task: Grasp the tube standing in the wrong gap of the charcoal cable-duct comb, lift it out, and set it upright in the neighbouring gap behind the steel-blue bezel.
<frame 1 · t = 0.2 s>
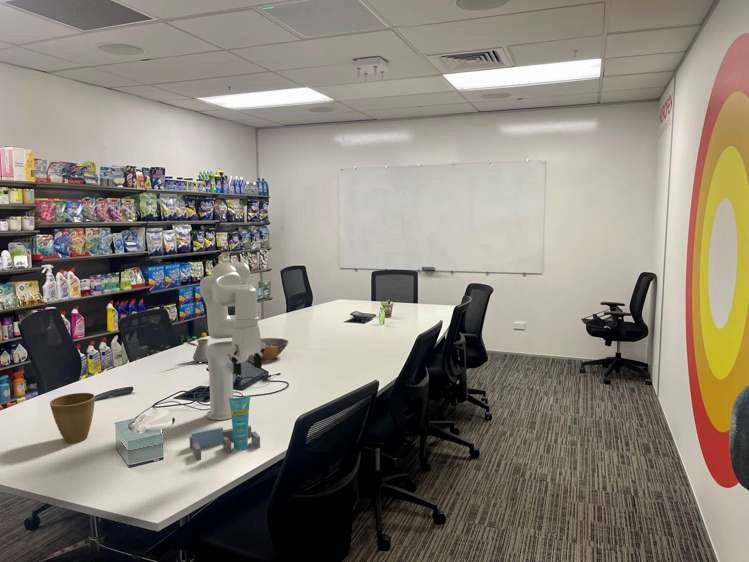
hand: (247, 370, 191), 30 cm above the table, tool pointing down, fingers open, 9 cm apart
duct comb: (227, 450, 196), on the table
plant pot: (75, 440, 206), on the table
coffee pot: (198, 364, 315), on the table
bowl: (267, 358, 328), on the table
tube: (241, 448, 199), on the table
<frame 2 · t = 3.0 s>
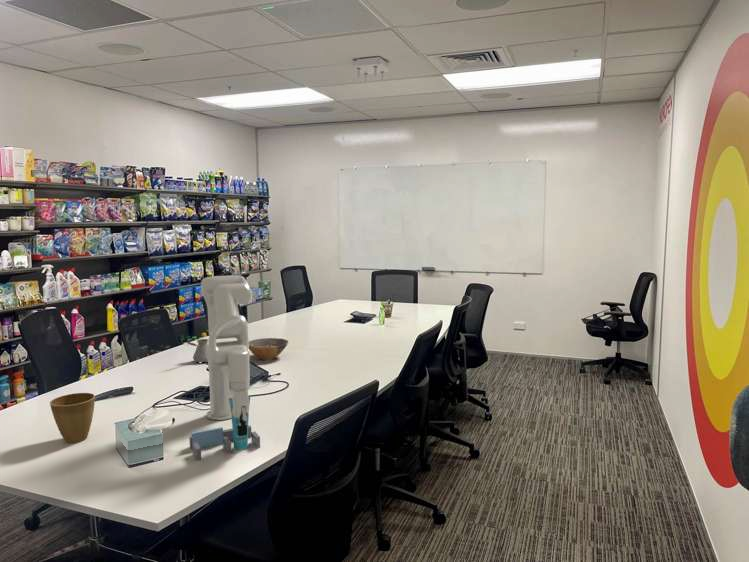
hand: (240, 432, 198), 6 cm above the table, tool pointing down, fingers closed on tube, 4 cm apart
tube: (241, 448, 199), on the table, touching gripper
everything else where it was.
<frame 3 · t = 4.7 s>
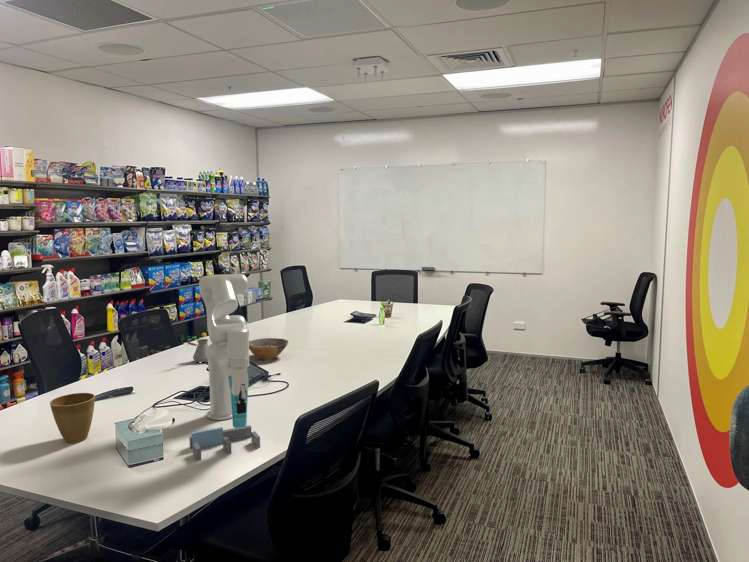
hand: (239, 410, 198), 14 cm above the table, tool pointing down, fingers closed on tube, 4 cm apart
tube: (240, 426, 199), point 8 cm above the table, touching gripper
everything else where it was.
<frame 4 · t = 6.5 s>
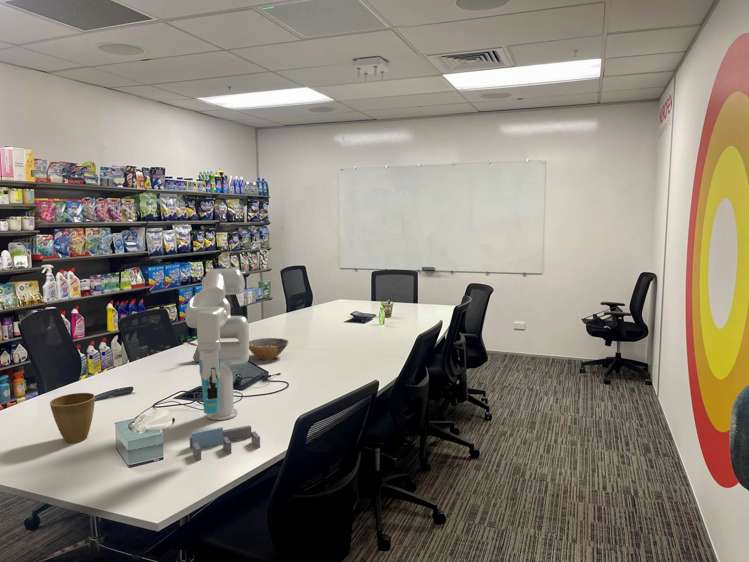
hand: (210, 395, 192), 21 cm above the table, tool pointing down, fingers closed on tube, 4 cm apart
tube: (211, 412, 192), point 15 cm above the table, touching gripper
everything else where it was.
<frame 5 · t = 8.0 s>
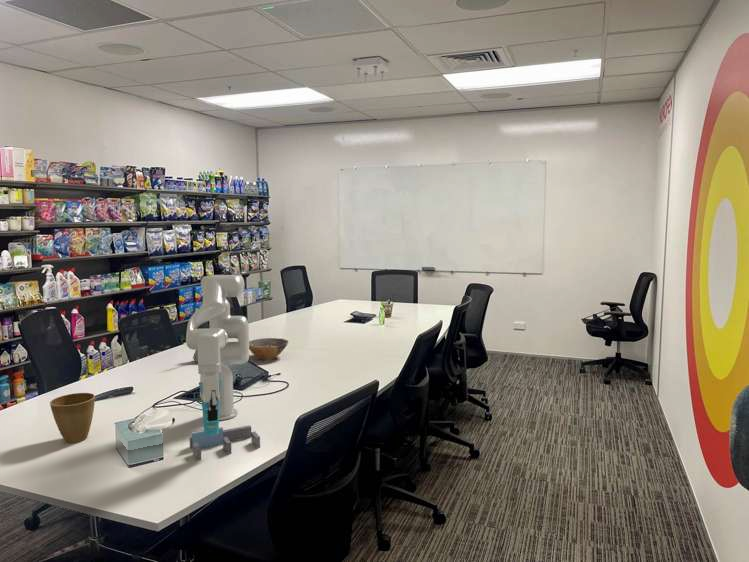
hand: (211, 417, 192), 13 cm above the table, tool pointing down, fingers closed on tube, 4 cm apart
tube: (211, 434, 193), point 7 cm above the table, touching gripper
everything else where it was.
when the fingers open (7 cm above the table, at t = 9.5 s): tube drops 1 cm, on the table.
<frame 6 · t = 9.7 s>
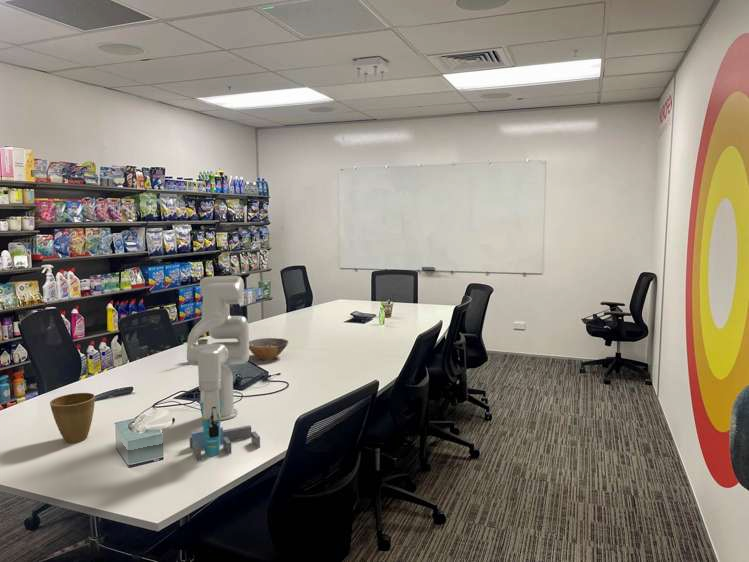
hand: (211, 433, 193), 8 cm above the table, tool pointing down, fingers open, 6 cm apart
tube: (212, 454, 194), on the table
everything else where it was.
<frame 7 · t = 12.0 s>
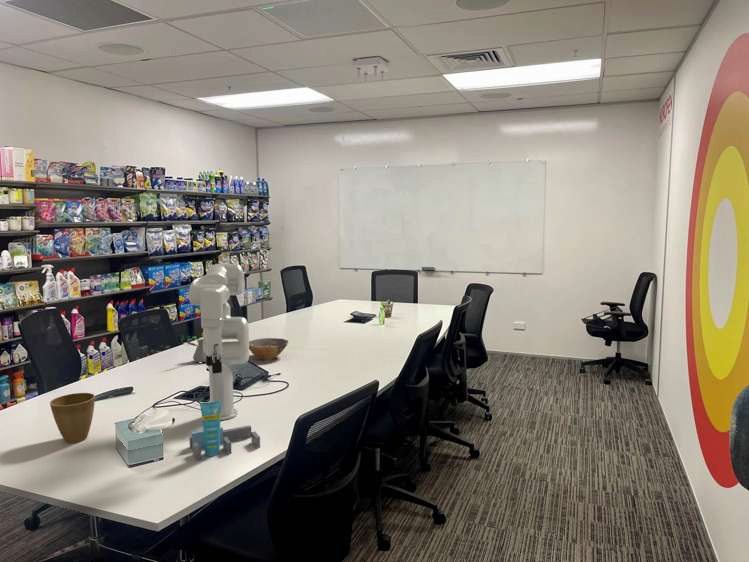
hand: (214, 369, 196), 29 cm above the table, tool pointing down, fingers open, 9 cm apart
nothing on the table moved.
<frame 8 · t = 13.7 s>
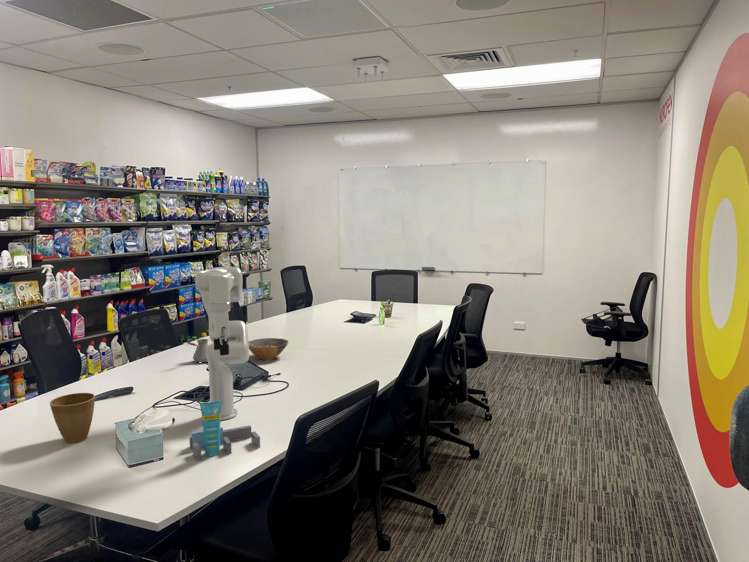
hand: (221, 352, 205), 33 cm above the table, tool pointing down, fingers open, 9 cm apart
nothing on the table moved.
at the end: tube 0.1 cm from the target spot on the duct comb, point 0.0 cm above the duct comb's base; tube tilted 0°; the gripper is holding nothing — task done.
